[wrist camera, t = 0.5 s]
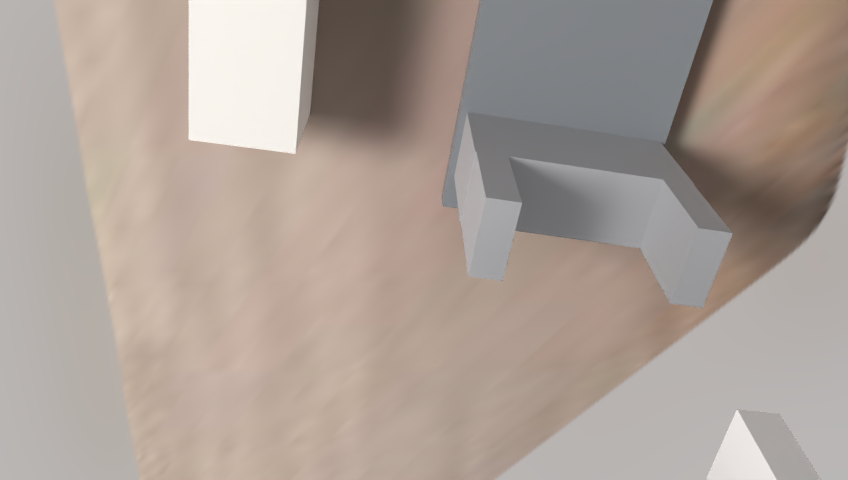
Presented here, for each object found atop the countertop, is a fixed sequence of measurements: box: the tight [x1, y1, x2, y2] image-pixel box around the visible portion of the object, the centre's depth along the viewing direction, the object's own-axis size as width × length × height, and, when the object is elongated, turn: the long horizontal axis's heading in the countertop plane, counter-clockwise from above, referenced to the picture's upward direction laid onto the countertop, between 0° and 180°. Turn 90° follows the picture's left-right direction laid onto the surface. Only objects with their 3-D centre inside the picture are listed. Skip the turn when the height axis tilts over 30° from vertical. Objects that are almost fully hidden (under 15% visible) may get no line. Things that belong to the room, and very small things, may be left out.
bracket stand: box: [442, 0, 733, 308], centre depth 26 cm, size 20×9×10 cm, turn 171°
